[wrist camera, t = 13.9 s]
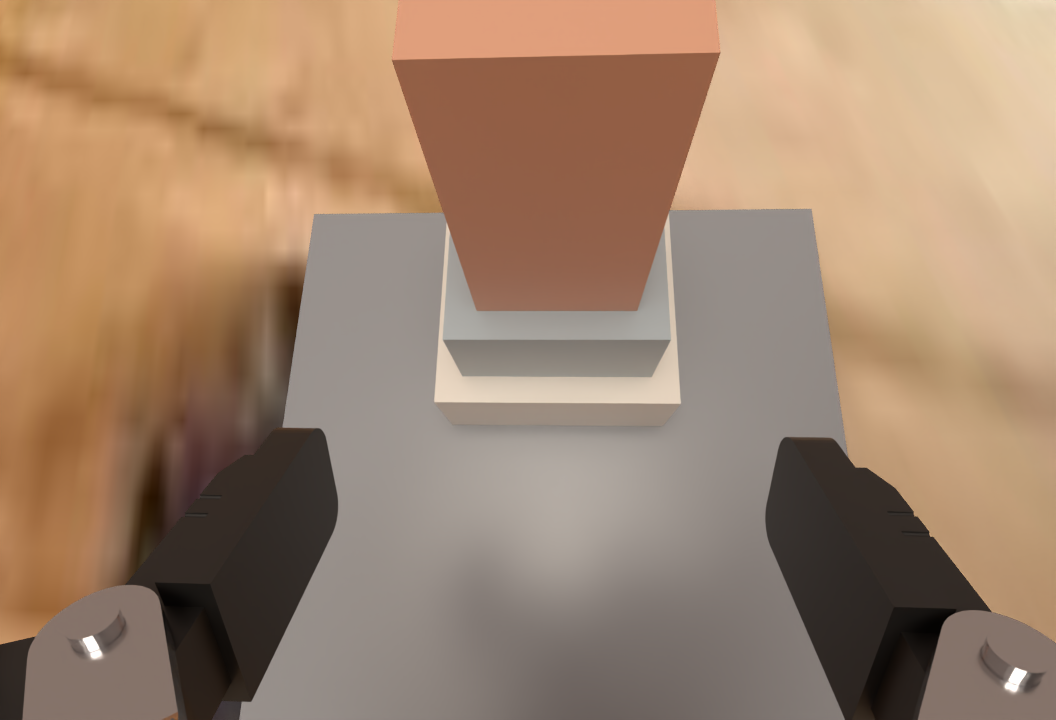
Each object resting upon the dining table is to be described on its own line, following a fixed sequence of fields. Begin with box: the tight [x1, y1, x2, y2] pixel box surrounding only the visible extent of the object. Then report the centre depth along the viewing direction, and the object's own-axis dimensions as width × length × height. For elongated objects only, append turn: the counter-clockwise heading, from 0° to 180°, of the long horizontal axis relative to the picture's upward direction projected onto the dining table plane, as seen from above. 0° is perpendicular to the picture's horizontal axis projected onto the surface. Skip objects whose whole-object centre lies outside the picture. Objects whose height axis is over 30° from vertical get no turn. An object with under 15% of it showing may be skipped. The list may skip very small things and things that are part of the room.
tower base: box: [434, 214, 681, 426], centre depth 23 cm, size 9×9×8 cm
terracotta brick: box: [392, 0, 720, 311], centre depth 15 cm, size 5×5×10 cm
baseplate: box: [239, 209, 848, 720], centre depth 26 cm, size 24×22×1 cm
